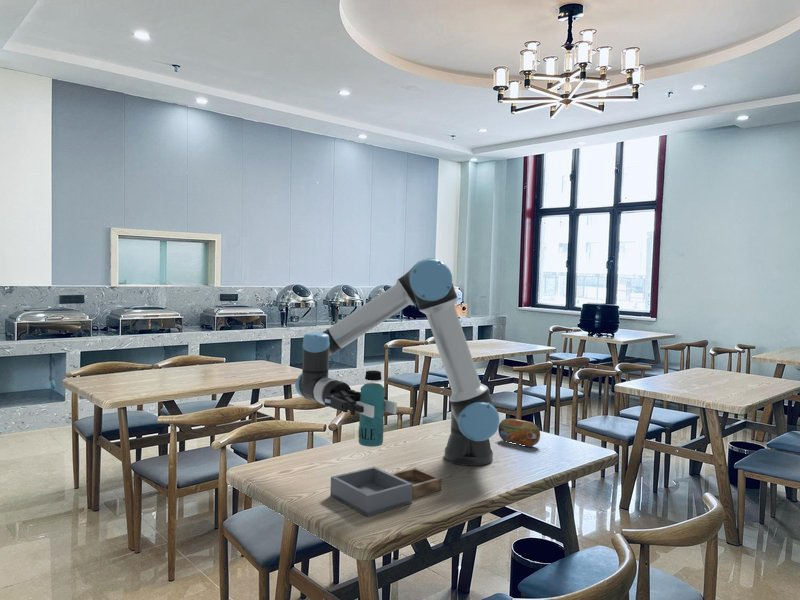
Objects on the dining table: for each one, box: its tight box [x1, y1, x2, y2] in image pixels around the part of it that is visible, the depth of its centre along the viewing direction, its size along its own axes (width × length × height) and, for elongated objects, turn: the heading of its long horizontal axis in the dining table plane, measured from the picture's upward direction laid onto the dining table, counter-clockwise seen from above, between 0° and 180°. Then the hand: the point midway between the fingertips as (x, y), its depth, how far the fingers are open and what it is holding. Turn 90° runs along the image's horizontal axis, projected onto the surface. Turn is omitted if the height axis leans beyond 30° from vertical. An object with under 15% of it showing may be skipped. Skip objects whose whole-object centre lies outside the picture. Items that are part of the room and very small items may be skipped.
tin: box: [497, 418, 541, 448], centre depth 201 cm, size 15×3×8 cm, turn 50°
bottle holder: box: [390, 466, 443, 499], centre depth 157 cm, size 11×11×3 cm
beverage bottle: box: [357, 369, 386, 448], centre depth 147 cm, size 6×7×20 cm
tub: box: [329, 466, 414, 518], centre depth 148 cm, size 14×16×5 cm
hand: (384, 410), depth 143 cm, fingers closed on beverage bottle, 6 cm apart
